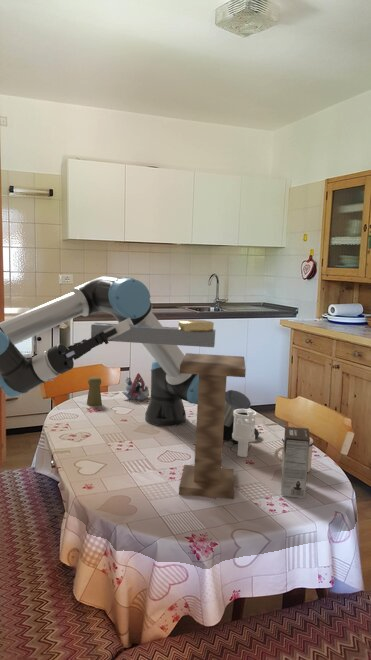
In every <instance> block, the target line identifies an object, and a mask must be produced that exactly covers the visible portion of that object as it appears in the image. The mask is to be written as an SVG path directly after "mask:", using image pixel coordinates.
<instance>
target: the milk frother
mask: <svg viewBox="0 0 371 660" xmlns="http://www.w3.org/2000/svg"><path fill="white" fill-rule="evenodd" d="M251 404H252V403H251V401H250V399H249V397H247V396H246V394H244V393H242V392H240V391H238V390H233V389H231V390H226V395H225V413H224V431H223V442H229V441H231V443H232V444H233V445H236V446H238V441H236V440H234V439H233V438H232V433H233V425H234V415H233V412H234V410H236V409H250V408H251ZM237 414H240V415H248V413H237ZM254 434H255V439H257V438H259V436H260V431H259V430H258V429H257V428H255V430H254Z"/></svg>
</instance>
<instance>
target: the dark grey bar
mask: <svg viewBox="0 0 371 660" xmlns="http://www.w3.org/2000/svg"><path fill="white" fill-rule="evenodd" d="M214 323H215V322H213V321H210V320H202V319H181V320H178V327H175V326H174V327H173V326H163V327H160V326H142V325H129V326H130V328H131V329H130V330H128V331H126V332H124V333H122V334H120V335H118V336H116V337H114V338H112V339H110V340H108V339H107V341H108V342H117V343H118V342H119V343H120V342H121V343H133V344H135V343H136V344H137V343H138V344H142V343H149V344H166V345H177V346H186V347H187V346H188V347H201V348H202V347H203V348H215V345H216V329H214ZM116 324H117V323H106V322H105V323H104V322H94V323H92V324H90V329H91V330H90V331H91V332H90V338H92V337H94V336H96V335H97V334H100V333H101V332H103V333H104V331H105V330H107V329H109V328H110V327H112V326H114V325H116Z"/></svg>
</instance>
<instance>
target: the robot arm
mask: <svg viewBox="0 0 371 660" xmlns="http://www.w3.org/2000/svg"><path fill="white" fill-rule="evenodd" d="M152 310H153V304H152V301H151V294H150V291H149V289H148V287H147V286H146V284H145V283H144V282H142V281H140V280H138V279H135V278H133V277H127V276H126V277H122V276H113V275H103V276H98V277H96V278H94V279H92V280H89V281H86V282H85V283H82V284H80V285H77V286H75V287H73V288H71V291H70V293H67V294H64V295H61V296H60V297H57V298H56V299H53V300H51V301H48V302H45V303H43V304H41V305H38V306H36V307H34V308H31V309H29V310H27V311H25V312H23V313H20V314H17V315H15V316H13V317H10V318H7V319H5V320H3V321H1V322H0V388H1V390H2V392H3V393H4V394H5V395H6V396H8V397H10V398H15V397H19V396H20V395H23V394H27V393H28V392H30V390H33V389H34V388H37V387H38V386H40V385H42V384H44V383H47V382H48V381H50V382H54V381H55V378H56V377H58V376H60V375H63V374H64V373H66V372H69V371H70V370H73V368H74V365H75V363H74V361H76V360H78V359H79V358H81V357H82V356H84V355H85V354H88V353H89V352H90V351H91V350H92V349H93V348H95V347H98V346H100V345H103V344H105V345H108V344H109V343H110V341H107V339H108V340H110V339H112V338H114V337H116V336H118V335H120V334H122V333H124V332H126V331H128V330H130V329H131V328H130V326H129V325H142V326H160V327H164V326H163V325H162V324H161V322H160V321H159V320H158V319H157V317H156V315H155V314H154V313H153V311H152ZM95 313H104V314H110V315H111V316H112V317H114V319H115V320H116V321H117V322H118V323H115V324H116V325H114V326H112V327H110V328H109V329H107V330H105V331H104V333H103V332H101V333H100V334H97V335H96V336H94V337H92V338H91V337H90V338H88V339H86V338H85V339H83V340H80V341H79V342H75V343H73V344H70V345H68V346H67V347H66V345H64V344H62V343H58V344H56V345H54V346H52V347H50V348H48V349H47V350H43V351H42V352H39V353H38V354H37V355H35V356H33V357H30V358H28V359H27V358H26V357H25V355H24V354H23V353H22V352H21V351H20V350H19V349H18V348H17V347H16V345H18V344H19V343H22V342H23V341H26V340H28V339H31V338H32V337H35V336H38V335H39V334H41V333H44V332H46V331H49V330H51V329H54V328H55V327H57V326H59V325H62V324H65V323H66V322H69V321H70V320H74V319H75V318H77V317H80V316H83V317H88V316H89V315H92V314H95ZM141 344H142V345H143V347H145V349H146V350H147V352H148V353H149V354H150V355H151V357H152V358H153V359H154V360H153V361H152V363H151V369H150V371H151V374H150V376H151V378H150V400H149V401H148V405H147V408H146V411H145V414H144V415H145V416H144V417H145V418H144V420H145V421H146V422H147V423H149V424H152V425H155V426H161V427H172V426H178V425H179V426H180V425H182V424H184V423H185V422H186V420H187V413H186V409H185V406H184V403H183V401H185V402H187V403H189V404H194V405H198V385H199V374H184V373H180V364H181V362H182V360H183V358H184V356H185V354H184V353H183V352H182V350H181V349H180V348H179V347H178V346H179V345H166V344H149V343H141Z"/></svg>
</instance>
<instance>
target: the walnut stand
mask: <svg viewBox="0 0 371 660" xmlns="http://www.w3.org/2000/svg"><path fill="white" fill-rule="evenodd" d="M246 370H247V369H246V361H245V356H241V355H237V356H236V355H224V354H223V355H221V354H207V353H206V354H205V353H192V352H191V353H190V352H189V353H188V352H186V353H185V354H184V358H183V360H182V362H181V364H180V373H184V374H199V385H198V404H196V405H197V410H196V411H197V412H196V430H195V448H194V449H195V451H194V465H192V464H191V465H189V464H184V466H183V469H182V473H181V477H180V482H179V487H178V495H182V496H183V495H184V496H185V495H186V496H196V497H208V498H220V499H232V500H233V499H234V498H235V497H234V496H235V469H234V468H232V467H231V468H229V467H222V464H223V447H224V445H223V444H224V441H223V431H224V413H225V395H226V392H227V377H235V378H246Z"/></svg>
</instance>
